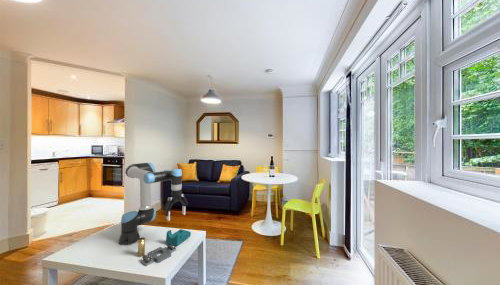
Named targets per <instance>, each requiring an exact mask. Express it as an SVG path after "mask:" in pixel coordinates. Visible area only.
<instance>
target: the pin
mask: <svg viewBox="0 0 500 285" xmlns="http://www.w3.org/2000/svg"><path fill="white" fill-rule="evenodd" d="M145 243H146V237H140V238H139V239H138V240H137V256H138V258H142V257H143V256H144V255H146V244H145Z"/></svg>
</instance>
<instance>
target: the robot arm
mask: <svg viewBox="0 0 500 285" xmlns="http://www.w3.org/2000/svg"><path fill="white" fill-rule="evenodd" d="M182 170H183V169H181V168H172V169H171V170H169V169H165V170H162V171H156V167H155V165H154V164H153V163H152V162H139V163H132V164H130V165H128V166H127V167H126V168H125V170H124V171H125V172H124V173H125V176H126V177H128V178H131V179H138V181H139V197H140V199H139V200H140V202H139V203H140V204H139V205H140V206H139V208H138V211H137V210H129V211H127V212H125V213H124V214H122V216H121V220H120V222H121V223H120V224H121V226H120V228H121V229H120V236H119V239H118V244H119V245H120V246H122V245H123V246H127V245H128V246H129V245H131V244H134V243H138V241H137V240H138V239H139V238H141V237H140V233H139V230H138V227H139V226H142V225H145V224H148V223H150V222H152V221H154V220H155V218H156V216H157V211H156V209H155V208H154V206H153V205H152V188H151V187H152V184H156V183H160V182H161V183H162V182H167V181H171V182H170V186H171V187H170V189H171V191H170V192H171V193H170V196H171V197H167V200H166V202H165V205H164V207H163V212H164V213H165V216H166V220H167V221H168V222H170V221H171V211H170V210H171V209H172V207H173V206H174V204H175V203H177V202H178V203H179V202H180V203H181V204H182V206H181V207H182V208H181V209H182V210H181V211H182V212H181V213H182V215H184V216H185V215H186V210H187V206H188V205H189V202H188V199H187V198H186V195H185V194H184V193H183V191H182V188H183V185H182V184H183V183H182V182H183V173H182V172H183V171H182Z"/></svg>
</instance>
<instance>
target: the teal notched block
mask: <svg viewBox="0 0 500 285" xmlns="http://www.w3.org/2000/svg"><path fill="white" fill-rule="evenodd" d="M191 234H192V231H189V230H186V229H183V228H180V229H178V230H176V232H174V233H172V230H171V229H169V230H168V231H166V236H165V237H166V239H165V245H166V246H167V244H171V245H173V246H175V247H178V246H180V245H181V243H183V242H184V241H186V240H187V239H188V238H190V237H191Z"/></svg>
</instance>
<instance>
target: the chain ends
mask: <svg viewBox="0 0 500 285" xmlns="http://www.w3.org/2000/svg"><path fill="white" fill-rule="evenodd" d="M176 251H177V247H176V246H175V245H171V244H167V245H166V247H164V248H163V247H161V246H159V247H157V248H155V249H153V250H151V251H148V252H147V255H146V254H145V255H144V256H142V257H141V260H140V263H141V264H142V265H144V266H145V267H147V266H149V265H151V264H154V262H156V263H158V264H159V263H161V262H163V261H165V260H167V259H169V258H170V257H172V253H174V252H176Z"/></svg>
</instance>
